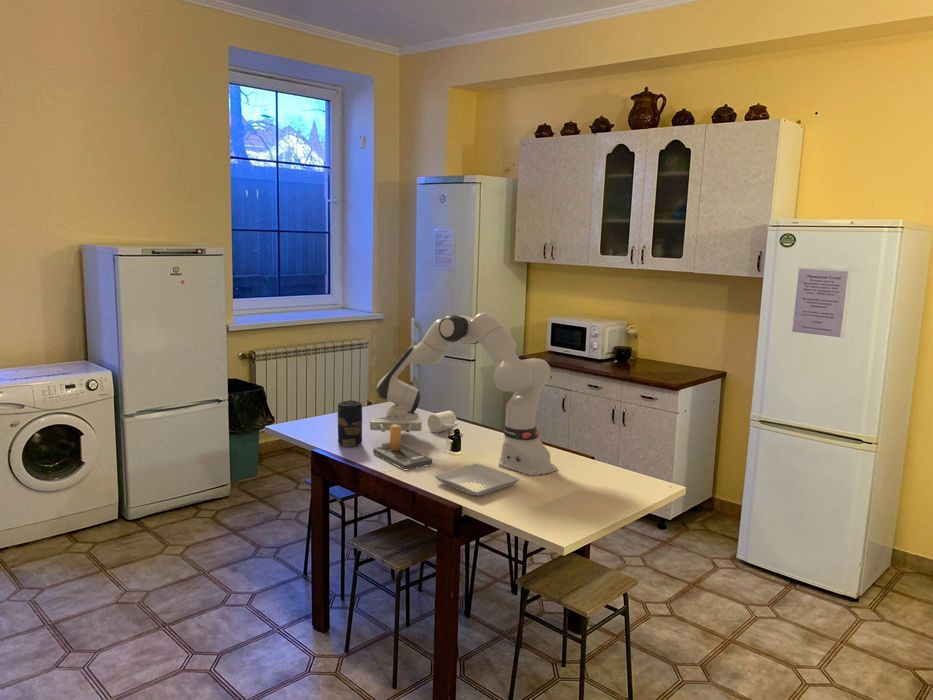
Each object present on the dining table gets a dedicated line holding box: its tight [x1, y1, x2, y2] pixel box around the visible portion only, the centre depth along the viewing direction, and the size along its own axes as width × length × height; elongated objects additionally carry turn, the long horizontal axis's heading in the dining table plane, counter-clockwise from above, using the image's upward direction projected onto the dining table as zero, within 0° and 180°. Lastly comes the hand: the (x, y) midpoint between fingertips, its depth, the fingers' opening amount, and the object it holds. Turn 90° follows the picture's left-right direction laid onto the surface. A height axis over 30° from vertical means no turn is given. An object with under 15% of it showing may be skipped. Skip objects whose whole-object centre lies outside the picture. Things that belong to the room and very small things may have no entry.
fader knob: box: [389, 424, 402, 451], centre depth 269 cm, size 4×4×9 cm
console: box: [373, 441, 433, 470], centre depth 266 cm, size 22×12×4 cm, turn 38°
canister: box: [337, 399, 363, 447], centre depth 280 cm, size 10×10×18 cm
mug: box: [427, 410, 459, 434], centre depth 303 cm, size 12×10×8 cm
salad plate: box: [434, 463, 520, 497], centre depth 242 cm, size 21×21×3 cm
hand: (395, 430), depth 274 cm, fingers open, 8 cm apart
